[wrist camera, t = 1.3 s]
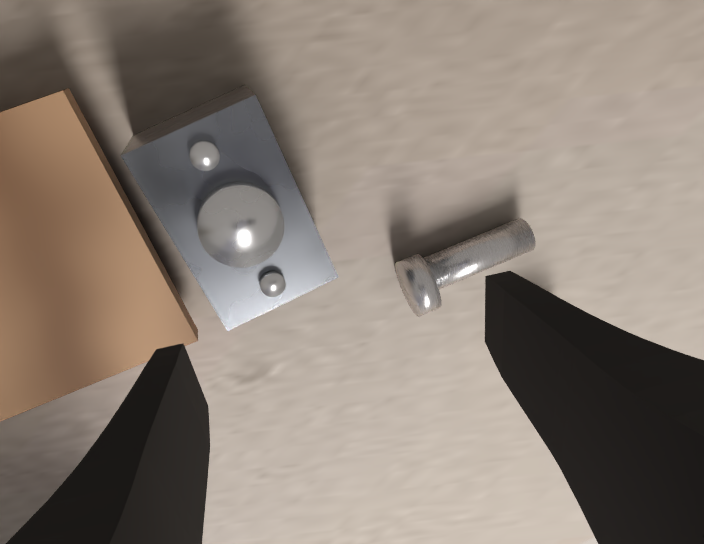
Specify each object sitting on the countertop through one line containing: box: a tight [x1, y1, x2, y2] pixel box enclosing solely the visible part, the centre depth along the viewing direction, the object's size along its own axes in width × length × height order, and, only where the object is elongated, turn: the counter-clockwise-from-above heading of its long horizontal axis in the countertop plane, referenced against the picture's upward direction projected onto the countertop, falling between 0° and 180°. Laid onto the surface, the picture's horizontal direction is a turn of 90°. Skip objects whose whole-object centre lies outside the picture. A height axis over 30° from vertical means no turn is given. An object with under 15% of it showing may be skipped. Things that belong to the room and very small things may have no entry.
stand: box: [0, 88, 198, 422], centre depth 20 cm, size 8×10×2 cm
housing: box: [121, 85, 338, 331], centre depth 20 cm, size 4×7×5 cm, turn 21°
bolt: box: [395, 218, 535, 317], centre depth 24 cm, size 6×3×3 cm, turn 107°
